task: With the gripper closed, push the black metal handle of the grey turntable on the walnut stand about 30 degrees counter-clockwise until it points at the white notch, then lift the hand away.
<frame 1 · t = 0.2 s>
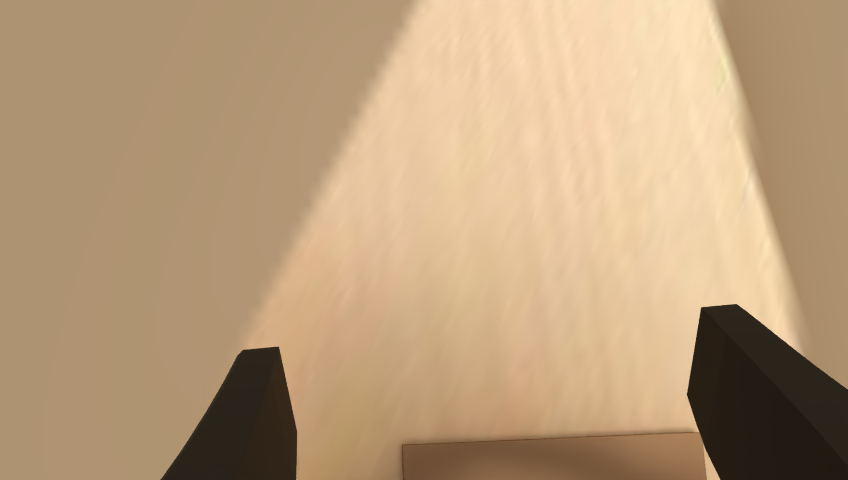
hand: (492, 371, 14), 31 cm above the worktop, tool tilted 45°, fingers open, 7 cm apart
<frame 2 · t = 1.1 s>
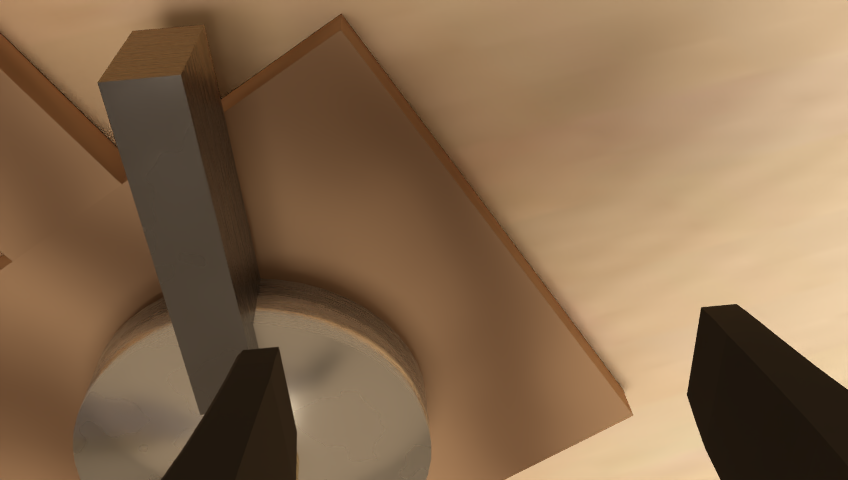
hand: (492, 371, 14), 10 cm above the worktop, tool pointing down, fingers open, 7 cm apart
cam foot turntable: (232, 370, 21), point 4 cm above the worktop, hinge at -30.0°
walnut stand: (267, 372, 26), on the worktop
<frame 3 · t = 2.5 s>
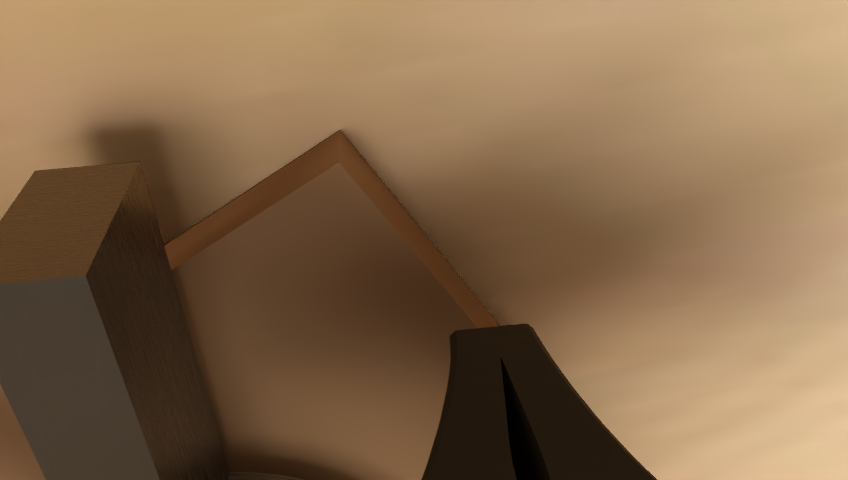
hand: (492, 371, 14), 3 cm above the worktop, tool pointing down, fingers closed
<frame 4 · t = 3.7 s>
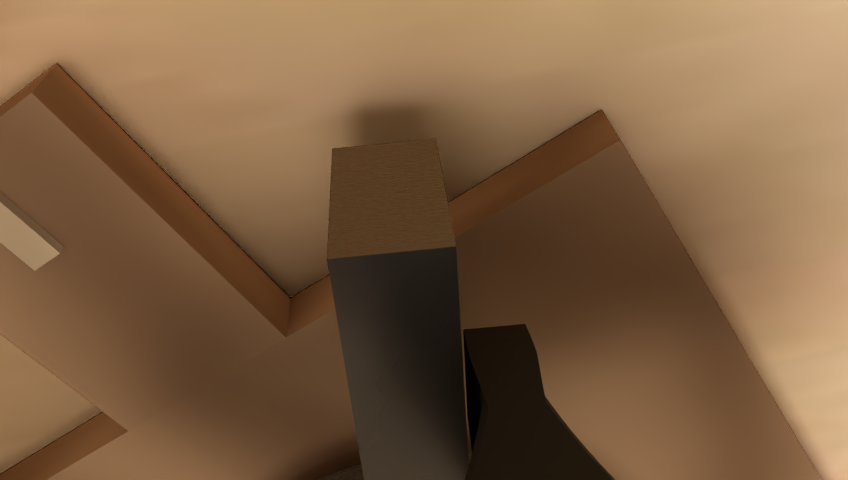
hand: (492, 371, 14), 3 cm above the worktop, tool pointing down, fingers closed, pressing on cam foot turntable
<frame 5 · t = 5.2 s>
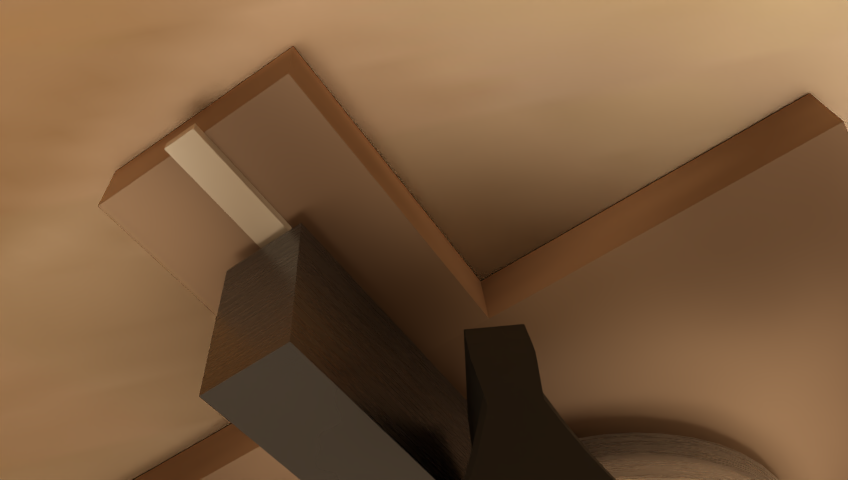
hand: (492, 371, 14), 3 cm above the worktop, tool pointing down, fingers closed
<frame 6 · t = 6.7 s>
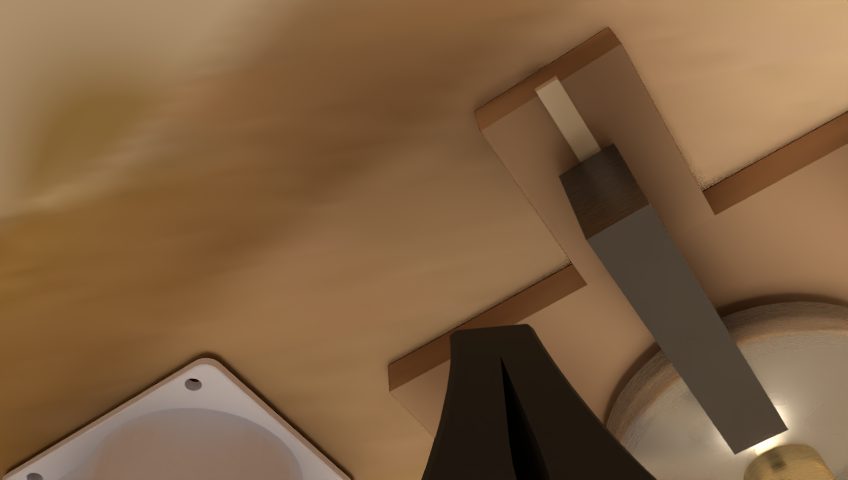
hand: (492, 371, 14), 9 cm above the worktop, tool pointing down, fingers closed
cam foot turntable: (740, 406, 23), point 4 cm above the worktop, hinge at 0.6°
walnut stand: (735, 386, 28), on the worktop
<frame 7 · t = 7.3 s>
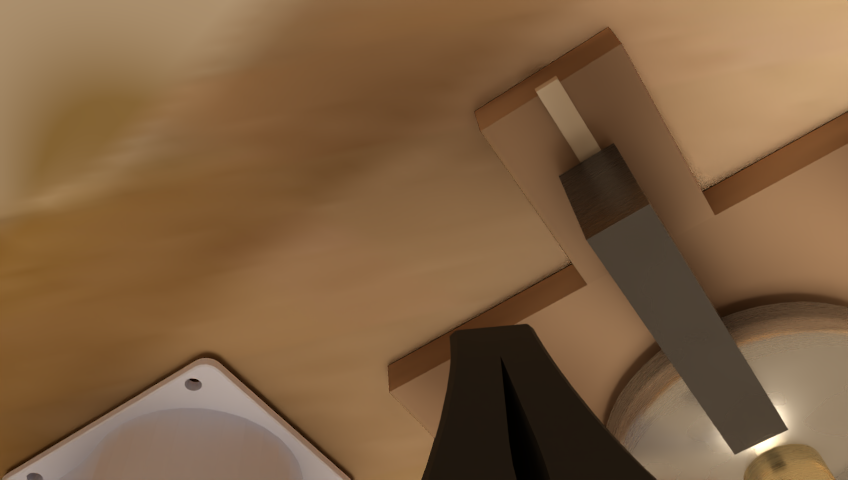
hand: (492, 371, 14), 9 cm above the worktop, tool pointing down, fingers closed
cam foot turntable: (740, 406, 23), point 4 cm above the worktop, hinge at 0.6°
walnut stand: (735, 386, 28), on the worktop
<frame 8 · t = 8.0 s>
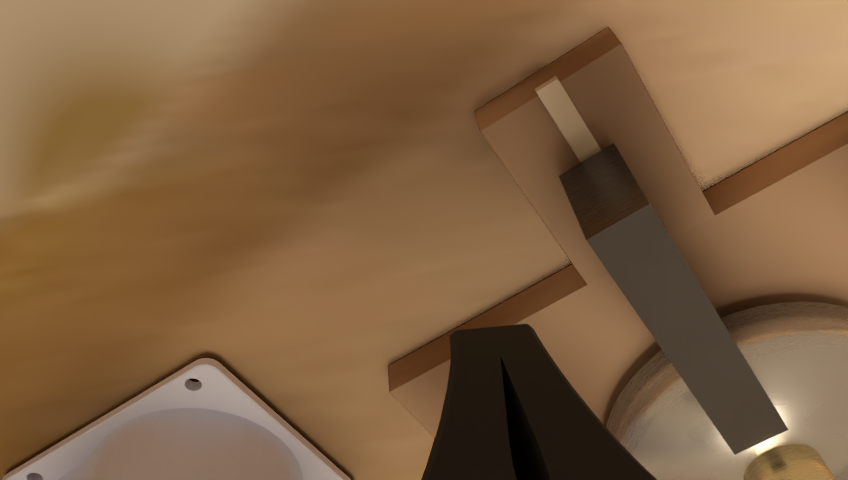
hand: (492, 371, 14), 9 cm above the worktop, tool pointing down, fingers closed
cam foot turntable: (740, 406, 23), point 4 cm above the worktop, hinge at 0.6°
walnut stand: (735, 386, 28), on the worktop
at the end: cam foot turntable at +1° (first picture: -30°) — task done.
